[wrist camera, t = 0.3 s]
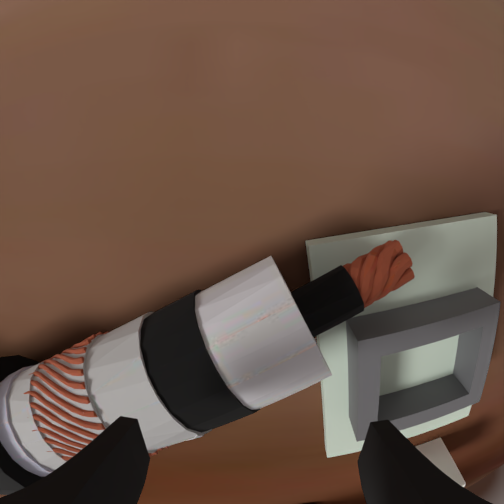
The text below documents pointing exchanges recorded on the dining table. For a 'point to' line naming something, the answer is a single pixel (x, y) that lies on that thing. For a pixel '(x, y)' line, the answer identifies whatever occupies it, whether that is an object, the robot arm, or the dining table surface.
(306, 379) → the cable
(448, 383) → the board
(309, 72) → the dining table surface
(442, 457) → the plug
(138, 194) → the dining table surface
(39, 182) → the dining table surface
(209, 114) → the dining table surface
